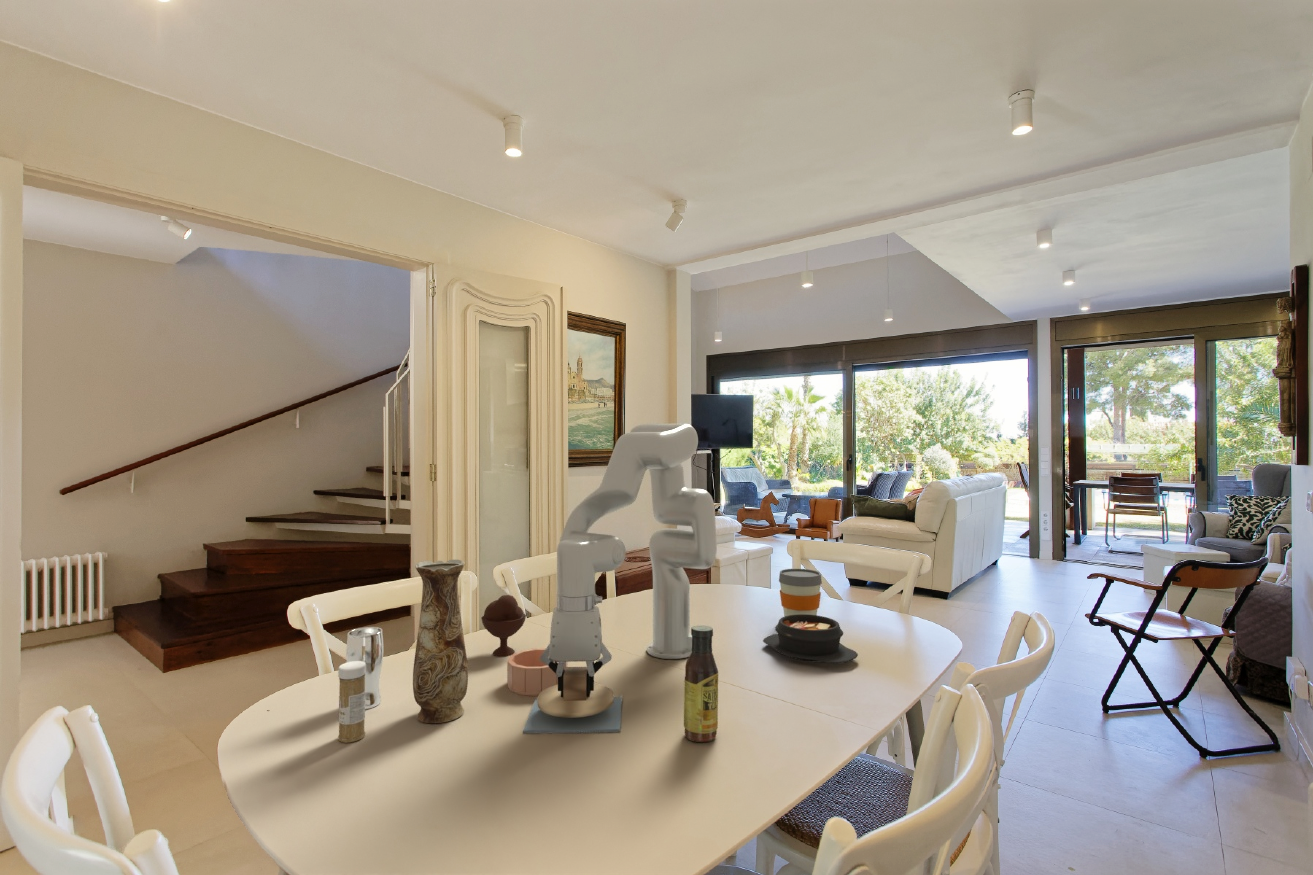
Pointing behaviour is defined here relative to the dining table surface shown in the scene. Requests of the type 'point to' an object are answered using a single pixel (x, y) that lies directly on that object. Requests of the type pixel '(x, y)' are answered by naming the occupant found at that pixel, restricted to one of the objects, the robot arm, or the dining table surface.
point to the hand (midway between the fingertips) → (575, 693)
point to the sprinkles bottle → (351, 701)
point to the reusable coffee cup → (800, 591)
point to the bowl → (529, 673)
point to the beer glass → (367, 659)
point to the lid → (575, 696)
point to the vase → (440, 645)
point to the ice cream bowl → (503, 622)
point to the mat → (575, 721)
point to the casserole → (810, 639)
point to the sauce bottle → (701, 688)
